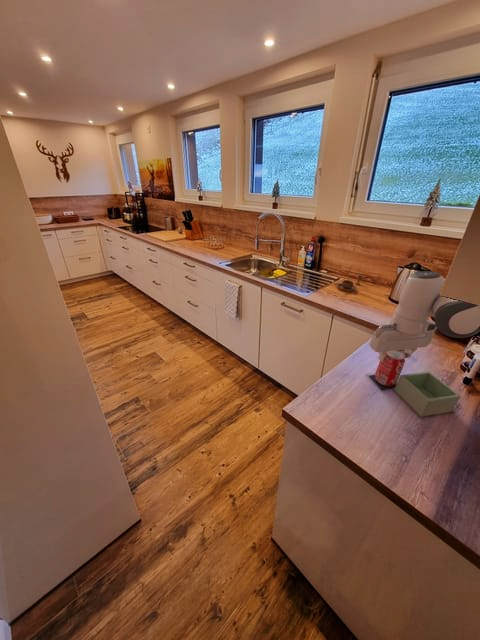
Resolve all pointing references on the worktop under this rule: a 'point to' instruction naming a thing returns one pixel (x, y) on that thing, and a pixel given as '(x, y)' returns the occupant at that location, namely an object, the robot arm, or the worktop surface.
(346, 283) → the place setting
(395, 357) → the soda can
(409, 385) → the bin
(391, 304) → the worktop surface
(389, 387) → the coaster
